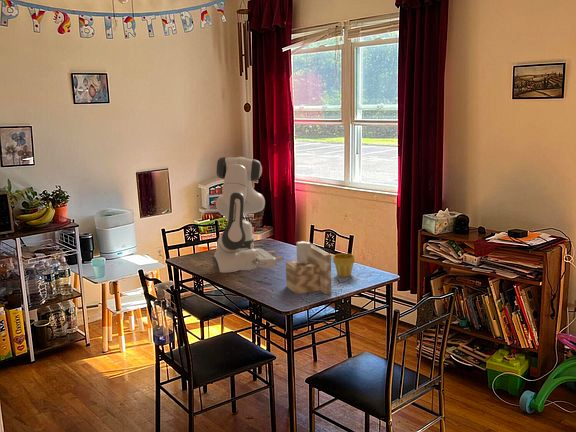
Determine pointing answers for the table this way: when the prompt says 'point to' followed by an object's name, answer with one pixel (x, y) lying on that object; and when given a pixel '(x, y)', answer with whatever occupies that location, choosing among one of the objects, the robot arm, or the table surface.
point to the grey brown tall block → (302, 252)
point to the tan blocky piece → (310, 273)
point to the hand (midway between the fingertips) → (279, 255)
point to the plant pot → (343, 264)
